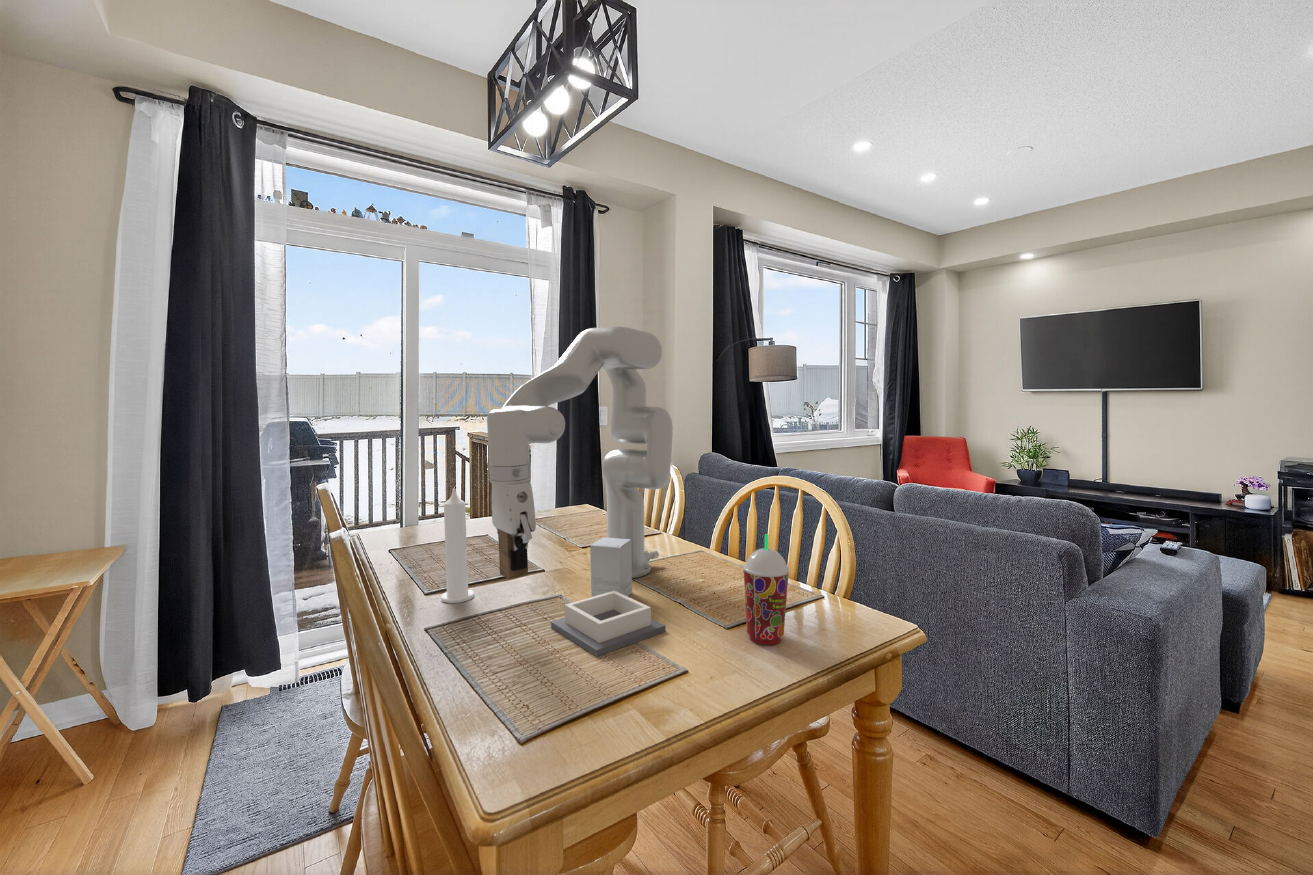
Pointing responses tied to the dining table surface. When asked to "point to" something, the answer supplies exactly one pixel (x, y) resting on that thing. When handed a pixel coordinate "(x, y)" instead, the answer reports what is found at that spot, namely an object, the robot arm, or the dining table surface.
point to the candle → (456, 551)
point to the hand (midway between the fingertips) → (513, 565)
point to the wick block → (508, 556)
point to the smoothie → (765, 595)
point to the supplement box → (611, 566)
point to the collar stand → (607, 622)
